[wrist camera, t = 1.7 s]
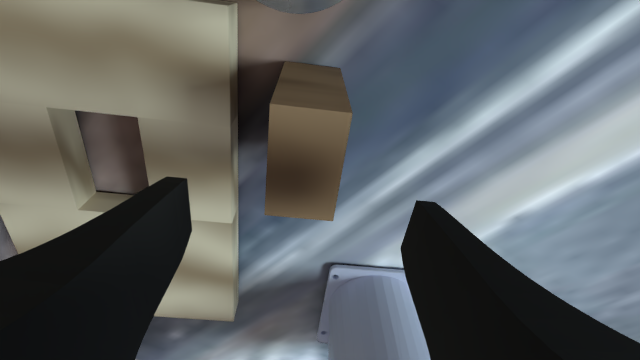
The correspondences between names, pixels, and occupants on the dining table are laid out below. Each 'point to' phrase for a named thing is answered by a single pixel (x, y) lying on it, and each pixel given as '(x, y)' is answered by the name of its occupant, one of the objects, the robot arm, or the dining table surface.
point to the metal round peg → (299, 5)
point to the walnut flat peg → (306, 141)
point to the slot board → (127, 100)
